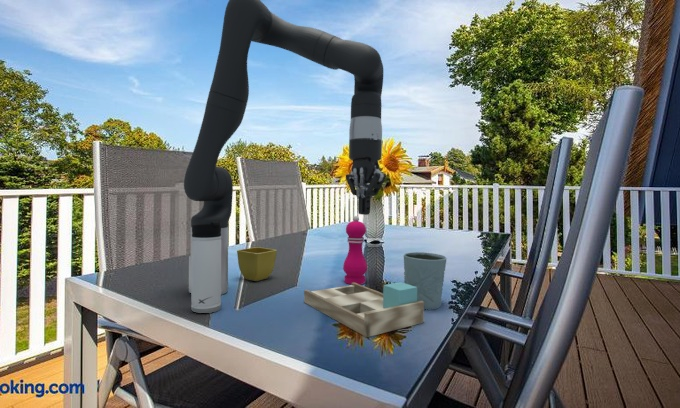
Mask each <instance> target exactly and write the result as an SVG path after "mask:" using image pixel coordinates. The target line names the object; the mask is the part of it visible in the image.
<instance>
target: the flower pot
mask: <svg viewBox="0 0 680 408" xmlns="http://www.w3.org/2000/svg"><path fill="white" fill-rule="evenodd" d="M277 252H278V250H277V249H275V248H273V249H272V248H266V247H259V246H258V247H257V246H255V247H248V248H242V249H237V250H236V255H237V264H238V269H239V271H240V274H241V275H242V277H243V278H244V279H245V280H250V281H254V282H258V281H263V280H266V279H268V278H269V277H270V275H271V274H272V273H273V270H274V269H275V266H276V265H275V264H276V257H277Z"/></svg>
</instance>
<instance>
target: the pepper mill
mask: <svg viewBox="0 0 680 408" xmlns="http://www.w3.org/2000/svg"><path fill="white" fill-rule="evenodd" d="M359 220H360V217H359V216H358V215H354V216H353V217H352V221H350V222H348V223H347V225H346V226H345V233H346V235H347V236H348V237H347V243H348V252H347V255H346V258H345V259H344V262H343V265H342V266H343V267H342V269H343V271H344V273H345V275H344V283H345V284H348V285H352V283H357V284H360V285H364V284H365V283H366V276H365V274H366V273H367V271H368V264H367V261H366V258H365V255H364V253H363V244H364V243H365V238H364V235H365V234H366V231H367V228H366V225H365V224H364V223H363V222H362V221H359Z"/></svg>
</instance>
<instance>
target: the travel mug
mask: <svg viewBox="0 0 680 408" xmlns="http://www.w3.org/2000/svg"><path fill="white" fill-rule="evenodd" d="M190 296H191V298H190V299H191V300H190V301H191V302H190V303H191V306H190V309H191V310H192V311H194V312H199V313H209V314H213V313H212V312H214V313H217V312H218V311H220V310H221V308H222V305H221V304H222V295H221V223H220V222H211V224H201V225H192V269H191V294H190ZM192 311H191V312H192Z"/></svg>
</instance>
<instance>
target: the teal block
mask: <svg viewBox="0 0 680 408" xmlns="http://www.w3.org/2000/svg"><path fill="white" fill-rule="evenodd" d="M382 293H383V308H384V309H385V308H390V307H395V306H399V305H404V304H409V303H413V302H417V287H415V286H412V285H408V284H405V282H402V281H400V282H395V283H394V282H393V283H388V284H383V290H382Z"/></svg>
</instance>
